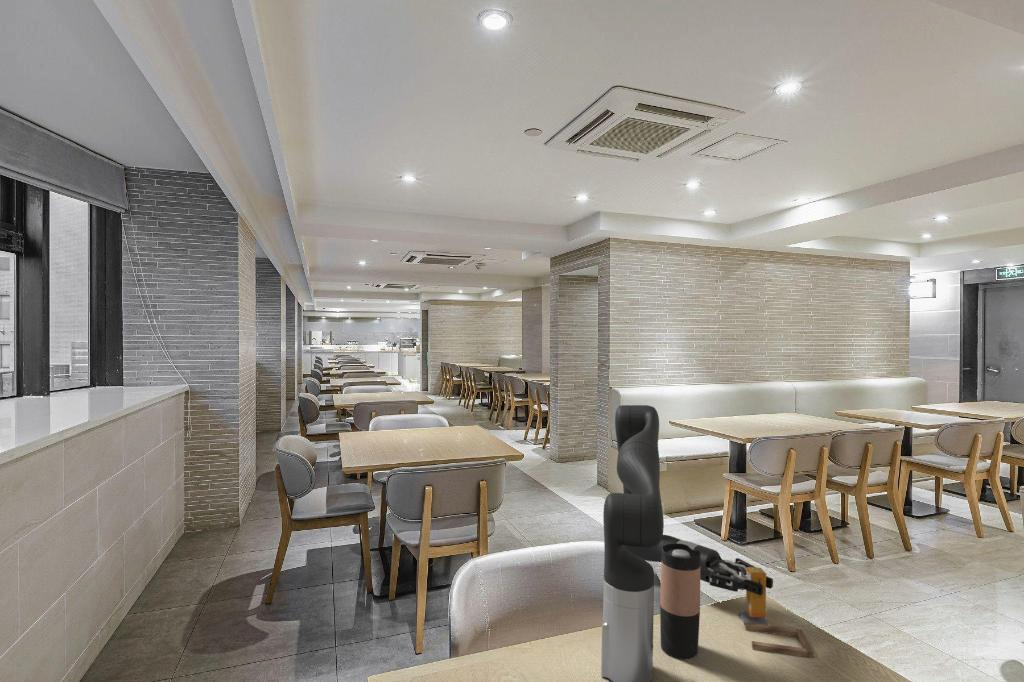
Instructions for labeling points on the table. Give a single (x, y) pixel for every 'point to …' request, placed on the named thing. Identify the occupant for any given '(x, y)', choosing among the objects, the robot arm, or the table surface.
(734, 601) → the table surface
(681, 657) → the travel mug
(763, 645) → the wooden u-shaped frame
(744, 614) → the coaster
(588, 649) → the table surface
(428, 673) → the table surface
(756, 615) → the supplement box
